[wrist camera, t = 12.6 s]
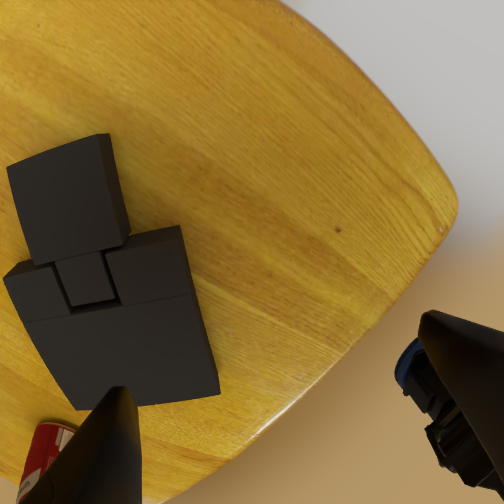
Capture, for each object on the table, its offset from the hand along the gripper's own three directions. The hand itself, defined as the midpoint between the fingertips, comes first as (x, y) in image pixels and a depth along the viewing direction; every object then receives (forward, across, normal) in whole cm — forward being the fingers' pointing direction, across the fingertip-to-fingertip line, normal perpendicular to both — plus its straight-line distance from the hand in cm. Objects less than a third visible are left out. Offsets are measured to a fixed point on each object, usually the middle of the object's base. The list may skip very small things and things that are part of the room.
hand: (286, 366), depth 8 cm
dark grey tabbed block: (+12, +9, -3) cm, 15 cm away
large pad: (+12, +9, +5) cm, 16 cm away
